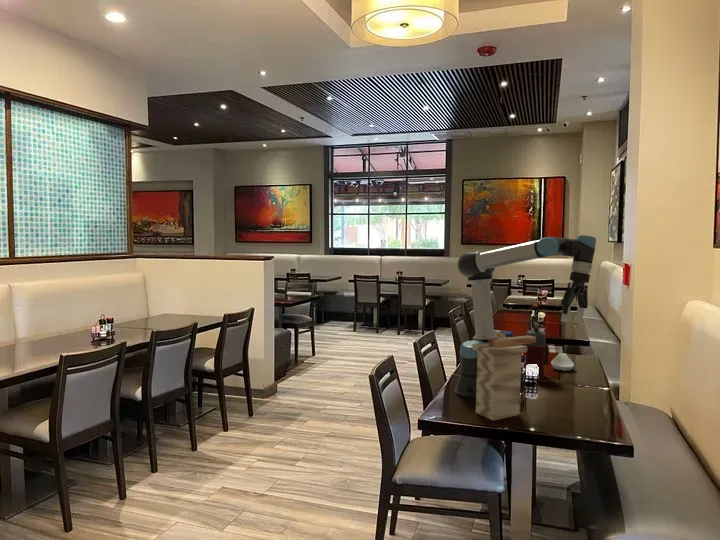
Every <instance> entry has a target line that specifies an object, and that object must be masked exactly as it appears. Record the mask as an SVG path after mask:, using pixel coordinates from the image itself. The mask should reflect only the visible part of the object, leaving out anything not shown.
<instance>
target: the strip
mask: <svg viewBox="0 0 720 540" xmlns="http://www.w3.org/2000/svg"><path fill="white" fill-rule="evenodd" d="M530 343H536V337H534V336H529V335H527V334H526V335H521V336H520V335H517V336H513V337H508V338H498V339H489V346H493V347H503V346H512V345H526V344H530Z"/></svg>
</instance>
